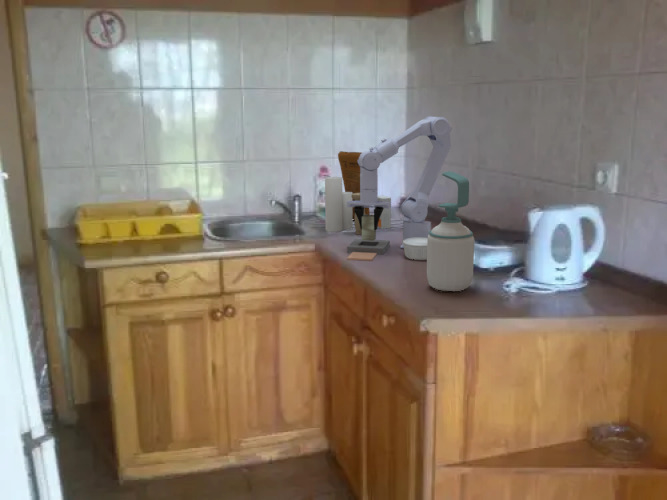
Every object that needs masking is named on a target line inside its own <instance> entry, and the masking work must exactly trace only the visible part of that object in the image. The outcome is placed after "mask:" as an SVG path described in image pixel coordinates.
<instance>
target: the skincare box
mask: <svg viewBox="0 0 667 500" xmlns="http://www.w3.org/2000/svg"><path fill="white" fill-rule="evenodd" d="M378 201H384V202H391V203H392V198H391V197H390V196H386V195H378ZM378 227H379V228H378ZM378 227H377V228H378V229H381V230H385V229H386V228H387V229H391V228H392V207H391V208H390V209H387V208H384V209H383V211H382V214H381V216H380V219H379V222H378Z"/></svg>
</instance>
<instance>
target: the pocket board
mask: <svg viewBox="0 0 667 500" xmlns="http://www.w3.org/2000/svg"><path fill="white" fill-rule="evenodd" d="M390 242H391V241H390V240H387V239H386V240H383V239H382V240H381V239H375V240H374V241H367V240H362V238H361V239H360V238H358V239H357V238H355V239H353V241H352V242H350V244H349V245H347V247H346V250H347V251H346V253H347V254H351V253H352V252H364V253H377V255H384V254H385V253H386V252H387V250H388V249H389V247H390Z"/></svg>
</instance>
